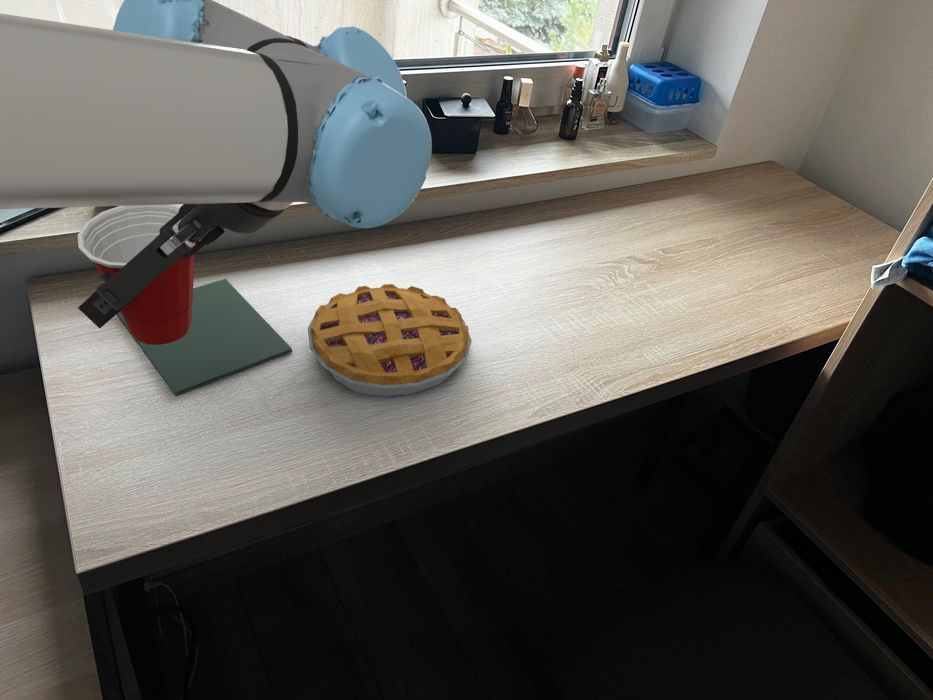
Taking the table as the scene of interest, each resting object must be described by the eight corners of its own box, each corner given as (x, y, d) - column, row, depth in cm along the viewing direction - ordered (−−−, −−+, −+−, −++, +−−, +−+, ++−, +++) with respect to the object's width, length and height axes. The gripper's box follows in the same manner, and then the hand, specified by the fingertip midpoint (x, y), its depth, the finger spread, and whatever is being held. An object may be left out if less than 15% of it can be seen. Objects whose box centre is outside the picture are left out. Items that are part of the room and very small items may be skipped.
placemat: (175, 396, 89) (174, 392, 88) (116, 314, 100) (115, 311, 99) (292, 352, 97) (292, 348, 97) (225, 281, 109) (225, 278, 108)
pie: (434, 296, 111) (437, 268, 108) (494, 386, 96) (498, 357, 93) (292, 318, 103) (290, 289, 100) (332, 421, 88) (331, 390, 85)
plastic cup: (80, 351, 71) (49, 245, 64) (139, 293, 80) (116, 194, 73) (184, 371, 71) (164, 266, 63) (232, 310, 79) (219, 212, 72)
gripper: (216, 274, 53) (79, 382, 66) (338, 160, 71) (212, 262, 83) (138, 194, 51) (12, 321, 63) (285, 96, 68) (163, 211, 80)
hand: (125, 288), depth 73 cm, fingers closed on plastic cup, 10 cm apart
